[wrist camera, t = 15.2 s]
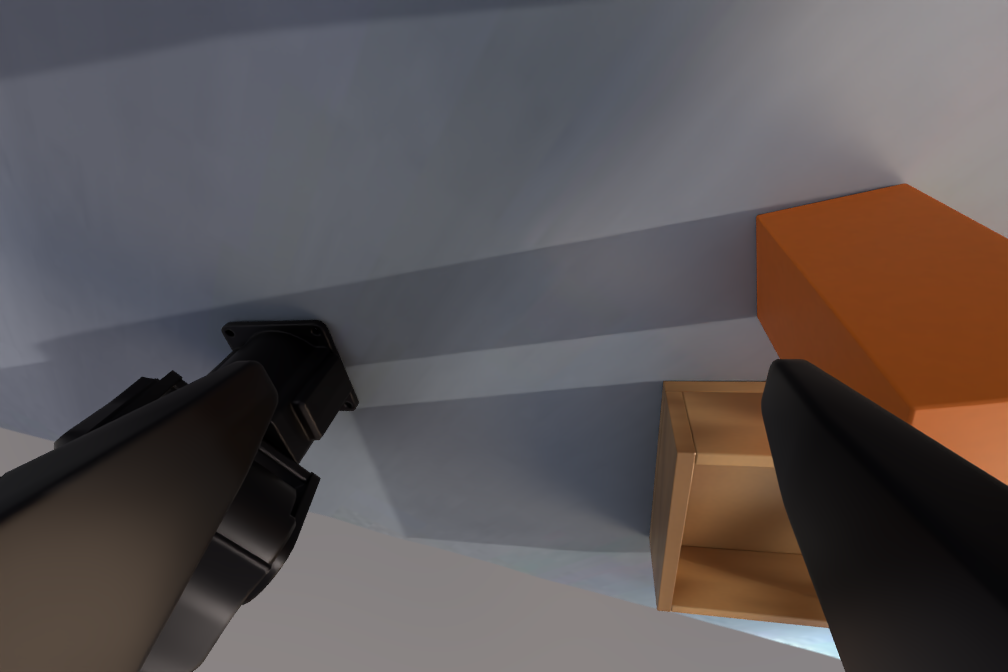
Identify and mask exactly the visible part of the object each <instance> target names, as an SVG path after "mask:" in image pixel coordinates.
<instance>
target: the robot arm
mask: <svg viewBox="0 0 1008 672" xmlns="http://www.w3.org/2000/svg"><path fill="white" fill-rule="evenodd" d="M316 328H317V329H318V330H319V331H318V330H316ZM222 333H223V335H224V337H225V339H226V340H227V342H228V344H229V345H230V347H231V349H232V350H233V351H232V352H231V353H230V354H229V355H228V356H227V357H226V358H225V359H224V360H223V361H222V362H221V363H220V364H219V365H218V366H216V367H215V368H214V369H213V370H212V371H211V372H210V373H209V374H208V375H206V376H204V377H202V378H200V379H198V380H196V381H194V382H192V383H190V384H187V383H186V382H185V381H183V380H182V378H183V377H181V376H180V375H179V374H177V373H176V372H174V371H173V370H172V371H171V372H170V373H168V374H167V375H166V376H165V377H164V378H162V379H161V380H159V379H158V378H157V379H151V378H145V377H141V378H140V379H139V380H137V381H136V382H135V383H134V384H132V385H131V386H130V387H129V388H127V389H126V390H125V391H124V392H122V393H121V394H120V395H119V396H117V397H116V398H115V399H113V400H112V401H111V402H109V403H108V404H107V405H105V406H104V407H102V408H101V409H99V410H98V411H96V412H95V413H94V414H92V415H91V416H89V417H88V418H86V419H85V420H83V421H82V422H80V423H79V424H77V425H76V426H75V427H73V428H72V429H70V430H69V431H67V432H66V433H65V434H64V435H62V436H61V437H60V438H59V439H58V440H57V441H56V442H55V443H54V450H52V451H50V452H48V453H46V454H44V455H42V456H40V457H38V458H36V459H34V460H32V461H29V462H27V463H25V464H23V465H21V466H19V467H17V468H15V469H13V470H11V471H9V472H7V473H5V474H4V475H3V476H2V477H0V672H193V671H194V670H196V669H197V668H198V667H199V666H200V665H201V664H202V662H204V660H205V659H206V657H207V655H208V654H209V652H210V651H211V649H212V647H213V646H214V645H215V643H216V642H217V640H218V638H219V637H220V635H221V634H222V632H223V631H224V629H225V628H226V626H227V625H228V623H229V622H230V620H231V619H232V617H233V616H234V614H235V613H236V612H237V610H238V609H239V608H240V606H241V605H244V604H246V603H248V602H250V601H251V600H252V599H254V598H255V597H256V596H257V595H258V594H259V593H260V592H261V591H262V590H263V589H264V588H265V587H266V586H267V585H268V584H269V583H270V582H271V580H272V579H273V578H274V577H275V575H276V574H277V573H278V571H279V570H280V569H281V567H282V566H283V564H284V563H285V561H286V560H287V558H288V557H289V555H290V553H291V551H292V550H293V548H294V545H295V543H296V541H297V539H298V536H299V533H300V531H301V528H302V526H303V523H304V520H305V518H306V515H307V512H308V510H309V507H310V505H311V502H312V499H313V497H314V494H315V492H316V489H317V486H318V484H319V481H320V477H318V476H317V475H316V474H314V473H313V472H311V473H310V472H308V471H307V470H306V469H304V468H303V467H301V466H300V465H299V463H300V461H301V460H302V458H303V457H304V455H305V454H306V452H307V451H308V449H309V448H310V446H311V444H312V443H313V441H314V440H320V439H321V437H322V436H323V435H324V433H325V432H326V430H327V429H328V427H329V425H330V424H331V422H332V421H333V419H334V418H335V416H336V414H337V413H338V411H353V410H355V409H356V407H357V406H358V404H359V401H358V399H357V396H356V394H355V392H354V389H353V387H352V384H351V382H350V380H349V377H348V375H347V373H346V370H345V368H344V366H343V363H342V361H341V359H340V356H339V354H338V351H337V349H336V347H335V344H334V342H333V340H332V337H331V335H330V333H329V330H328V328H327V326H326V325H325V324H324V323H323V322H321V321H319V320H296V321H258V322H229V323H227V324H226V325H225V326H224V327H223V328H222ZM761 412H762V417H763V421H764V425H765V430H766V434H767V438H768V442H769V446H770V451H771V455H772V459H773V463H774V467H775V472H776V476H777V480H778V484H779V489H780V492H781V496H782V500H783V504H784V507H785V510H786V513H787V515H788V518H789V521H790V524H791V527H792V529H793V532H794V535H795V537H796V540H797V543H798V545H799V548H800V551H801V554H802V556H803V559H804V562H805V564H806V567H807V570H808V572H809V575H810V578H811V580H812V583H813V586H814V589H815V591H816V594H817V597H818V599H819V602H820V605H821V607H822V610H823V613H824V615H825V618H826V621H827V623H828V626H829V629H830V632H831V634H832V637H833V640H834V642H835V645H836V648H837V650H838V653H839V656H840V658H841V661H842V664H843V666H844V669H845V672H1008V485H1006V484H1004V483H1003V482H1001V481H1000V480H998V479H996V478H995V477H993V476H992V475H990V474H988V473H987V472H985V471H984V470H982V469H980V468H979V467H977V466H975V465H974V464H972V463H971V462H969V461H967V460H966V459H964V458H963V457H961V456H959V455H958V454H956V453H955V452H953V451H951V450H950V449H948V448H947V447H945V446H943V445H942V444H940V443H939V442H937V441H935V440H934V439H932V438H931V437H929V436H927V435H926V434H924V433H923V432H921V431H919V430H918V429H916V428H915V427H913V426H911V425H910V424H908V423H906V422H905V421H903V420H902V419H900V418H898V417H897V416H895V415H894V414H892V413H890V412H889V411H887V410H886V409H884V408H882V407H881V406H879V405H878V404H876V403H874V402H873V401H871V400H870V399H868V398H866V397H865V396H863V395H862V394H860V393H858V392H857V391H855V390H854V389H852V388H850V387H849V386H847V385H846V384H844V383H842V382H841V381H839V380H838V379H836V378H834V377H833V376H831V375H829V374H828V373H826V372H825V371H823V370H821V369H820V368H818V367H817V366H815V365H813V364H812V363H810V362H808V361H807V360H804V359H777V360H775V361H773V362H772V364H771V366H770V368H769V372H768V376H767V380H766V384H765V388H764V391H763V395H762V400H761Z"/></svg>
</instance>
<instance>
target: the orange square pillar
mask: <svg viewBox="0 0 1008 672" xmlns="http://www.w3.org/2000/svg"><path fill="white" fill-rule="evenodd" d="M756 240H757V317H758V319H759V321H760V323H761V325H762V326H763V328H764V330H765V332H766V334H767V336H768V337H769V339H770V341H771V343H772V345H773V347H774V349H775V350H776V352H777V354H778V356H779V358H780V359H804V360H807V361H808V362H810V363H812V364H813V365H815V366H817V367H818V368H820V369H821V370H823V371H825V372H826V373H828V374H829V375H831V376H833V377H834V378H836V379H838V380H839V381H841V382H842V383H844V384H846V385H847V386H849V387H850V388H852V389H854V390H855V391H857V392H858V393H860V394H862V395H863V396H865V397H866V398H868V399H870V400H871V401H873V402H874V403H876V404H878V405H879V406H881V407H882V408H884V409H886V410H887V411H889V412H890V413H892V414H894V415H895V416H897V417H898V418H900V419H902V420H903V421H905V422H906V423H908V424H910V425H911V426H913V427H915V428H916V429H918V430H919V431H921V432H923V433H924V434H926V435H927V436H929V437H931V438H932V439H934V440H935V441H937V442H939V443H940V444H942V445H943V446H945V447H947V448H948V449H950V450H951V451H953V452H955V453H956V454H958V455H959V456H961V457H963V458H964V459H966V460H967V461H969V462H971V463H972V464H974V465H975V466H977V467H979V468H980V469H982V470H984V471H985V472H987V473H988V474H990V475H992V476H993V477H995V478H996V479H998V480H1000V481H1001V482H1003V483H1004V484H1006V485H1008V239H1007V238H1005V237H1004V236H1002V235H1000V234H998V233H996V232H994V231H993V230H991V229H989V228H987V227H985V226H983V225H982V224H980V223H978V222H976V221H974V220H972V219H971V218H969V217H967V216H965V215H963V214H961V213H960V212H958V211H956V210H954V209H952V208H950V207H949V206H947V205H945V204H943V203H941V202H939V201H938V200H936V199H934V198H932V197H930V196H928V195H926V194H925V193H923V192H921V191H919V190H917V189H915V188H914V187H912V186H910V185H908V184H900V185H895V186H891V187H886V188H881V189H877V190H872V191H868V192H863V193H858V194H854V195H849V196H844V197H840V198H835V199H830V200H826V201H821V202H817V203H812V204H807V205H803V206H798V207H793V208H789V209H784V210H780V211H775V212H770V213H766V214H761V215H757V217H756Z"/></svg>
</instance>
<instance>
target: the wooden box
mask: <svg viewBox="0 0 1008 672" xmlns="http://www.w3.org/2000/svg"><path fill="white" fill-rule="evenodd" d="M765 384H766V382H720V381H664V382H663V391H662V402H661V414H660V425H659V436H658V447H657V458H656V470H655V481H654V492H653V503H652V514H651V526H650V537H649V540H650V548H651V559H652V568H653V577H654V587H655V596H656V605H657V610H658V611H668V612H670V611H672V612H680V613H689V614H699V615H709V616H718V617H728V618H737V619H747V620H757V621H766V622H776V623H786V624H795V625H805V626H814V627H824V628H829V626H828V623H827V621H826V618H825V615H824V613H823V610H822V607H821V605H820V602H819V599H818V597H817V594H816V591H815V589H814V586H813V583H812V580H811V578H810V575H809V572H808V570H807V567H806V564H805V562H804V559H803V556H802V554H801V551H800V548H799V545H798V543H797V540H796V537H795V535H794V532H793V529H792V527H791V524H790V521H789V518H788V515H787V513H786V510H785V507H784V504H783V500H782V496H781V492H780V489H779V484H778V480H777V476H776V472H775V467H774V463H773V459H772V455H771V451H770V446H769V442H768V438H767V434H766V430H765V425H764V421H763V417H762V412H761V400H762V395H763V391H764V388H765Z"/></svg>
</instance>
